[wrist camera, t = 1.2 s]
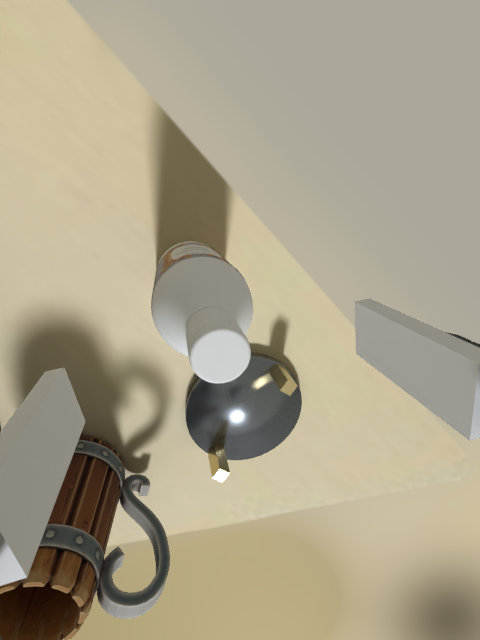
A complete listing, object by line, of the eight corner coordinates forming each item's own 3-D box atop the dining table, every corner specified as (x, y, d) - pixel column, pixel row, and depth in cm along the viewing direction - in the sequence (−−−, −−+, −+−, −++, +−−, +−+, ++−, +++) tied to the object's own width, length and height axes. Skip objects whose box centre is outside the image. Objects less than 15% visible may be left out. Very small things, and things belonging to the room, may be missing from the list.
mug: (23, 504, 38) (-60, 674, 24) (32, 427, 35) (-54, 569, 21) (159, 508, 42) (155, 655, 28) (177, 440, 40) (182, 566, 26)
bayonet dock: (198, 465, 41) (202, 499, 37) (173, 369, 37) (174, 393, 32) (302, 436, 43) (319, 465, 39) (292, 341, 39) (310, 360, 34)
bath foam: (224, 240, 33) (298, 280, 15) (224, 305, 35) (288, 413, 17) (154, 240, 32) (136, 285, 13) (158, 308, 34) (148, 429, 16)
